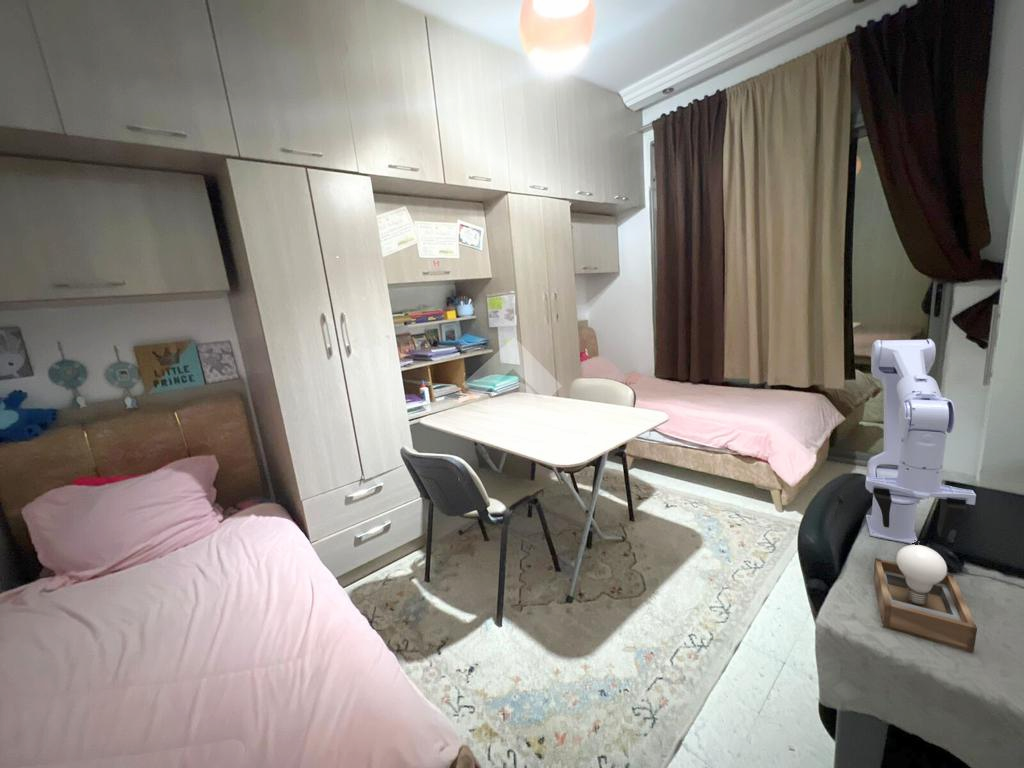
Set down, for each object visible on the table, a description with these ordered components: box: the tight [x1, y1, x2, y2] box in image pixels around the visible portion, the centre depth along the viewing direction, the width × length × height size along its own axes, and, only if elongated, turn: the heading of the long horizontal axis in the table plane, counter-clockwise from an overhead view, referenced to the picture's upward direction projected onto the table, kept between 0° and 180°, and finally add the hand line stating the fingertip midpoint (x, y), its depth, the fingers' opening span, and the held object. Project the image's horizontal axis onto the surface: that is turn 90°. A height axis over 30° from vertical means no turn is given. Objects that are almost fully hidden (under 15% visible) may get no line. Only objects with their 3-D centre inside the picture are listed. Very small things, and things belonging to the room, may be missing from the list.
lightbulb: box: [895, 544, 948, 605], centre depth 73 cm, size 6×6×11 cm
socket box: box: [872, 557, 978, 654], centre depth 73 cm, size 14×11×4 cm
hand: (912, 529), depth 79 cm, fingers open, 7 cm apart
